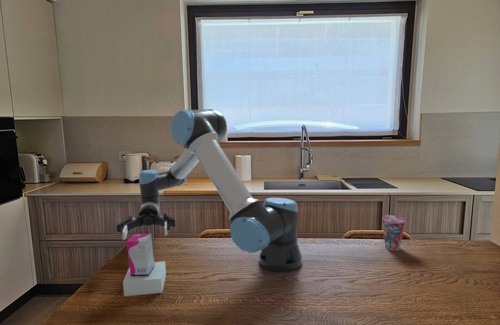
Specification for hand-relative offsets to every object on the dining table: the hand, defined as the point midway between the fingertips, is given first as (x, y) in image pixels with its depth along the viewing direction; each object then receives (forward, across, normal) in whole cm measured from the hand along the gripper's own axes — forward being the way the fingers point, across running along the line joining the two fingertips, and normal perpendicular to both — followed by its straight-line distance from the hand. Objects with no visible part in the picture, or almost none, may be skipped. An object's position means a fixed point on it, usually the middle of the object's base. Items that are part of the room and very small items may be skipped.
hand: (145, 233), depth 107 cm
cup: (+8, -92, -13) cm, 93 cm away
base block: (+10, 0, -14) cm, 17 cm away
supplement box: (+10, 0, -9) cm, 13 cm away
